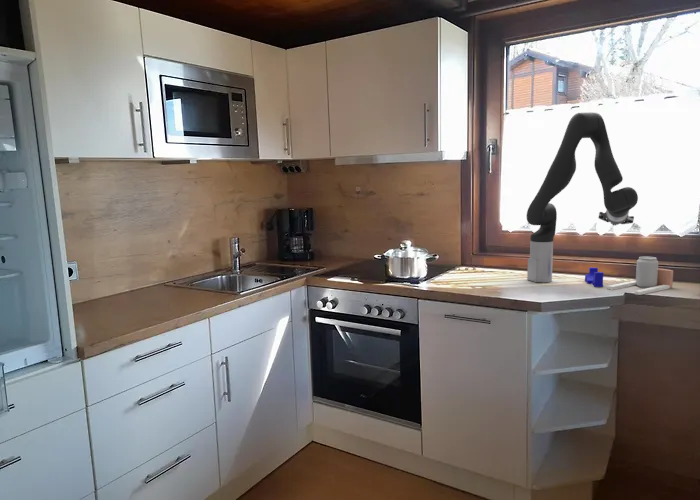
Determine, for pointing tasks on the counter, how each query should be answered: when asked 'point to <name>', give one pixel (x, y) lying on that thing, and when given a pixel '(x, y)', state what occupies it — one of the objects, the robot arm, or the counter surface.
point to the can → (647, 272)
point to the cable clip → (594, 277)
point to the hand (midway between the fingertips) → (614, 222)
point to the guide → (662, 283)
